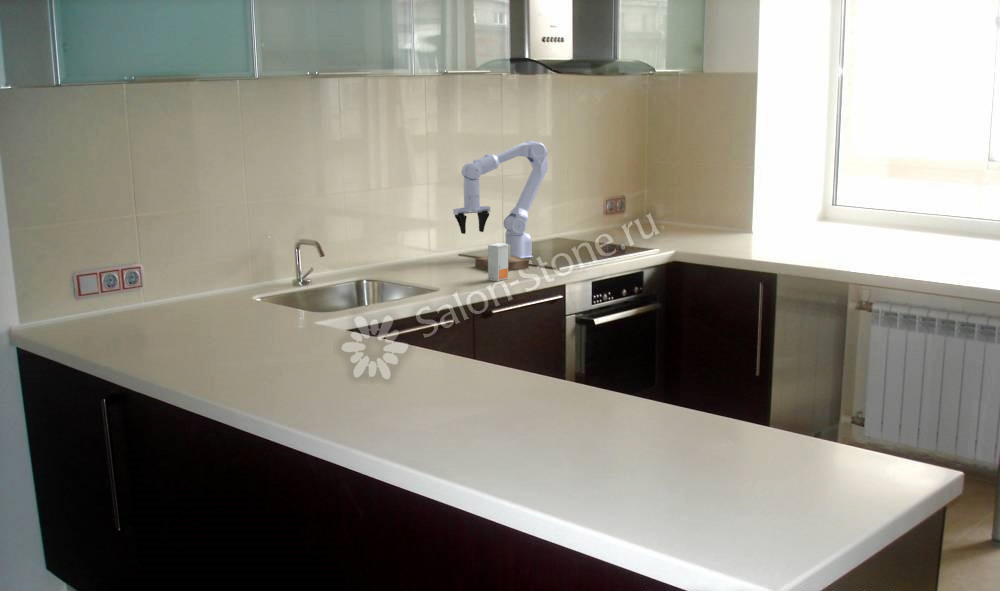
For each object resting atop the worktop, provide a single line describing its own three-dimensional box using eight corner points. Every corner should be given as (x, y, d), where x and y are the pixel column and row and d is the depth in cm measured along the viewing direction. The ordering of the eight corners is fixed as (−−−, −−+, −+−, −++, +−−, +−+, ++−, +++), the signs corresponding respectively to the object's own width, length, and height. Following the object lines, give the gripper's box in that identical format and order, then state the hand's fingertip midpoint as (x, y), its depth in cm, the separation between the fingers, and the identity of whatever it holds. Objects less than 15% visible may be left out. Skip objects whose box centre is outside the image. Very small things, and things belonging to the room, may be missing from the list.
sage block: (504, 257, 359) (503, 243, 358) (510, 259, 355) (510, 245, 354) (493, 258, 356) (493, 244, 355) (499, 260, 353) (499, 246, 352)
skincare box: (497, 281, 332) (497, 246, 329) (487, 280, 334) (487, 245, 331) (508, 278, 336) (508, 243, 334) (498, 277, 339) (498, 242, 336)
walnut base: (508, 262, 366) (508, 254, 365) (528, 268, 354) (528, 260, 353) (475, 266, 359) (475, 258, 358) (494, 272, 347) (494, 264, 346)
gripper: (459, 198, 358) (460, 235, 361) (494, 195, 365) (494, 232, 368) (450, 196, 364) (451, 233, 367) (484, 193, 371) (485, 229, 374)
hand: (472, 232), depth 368 cm, fingers open, 7 cm apart
